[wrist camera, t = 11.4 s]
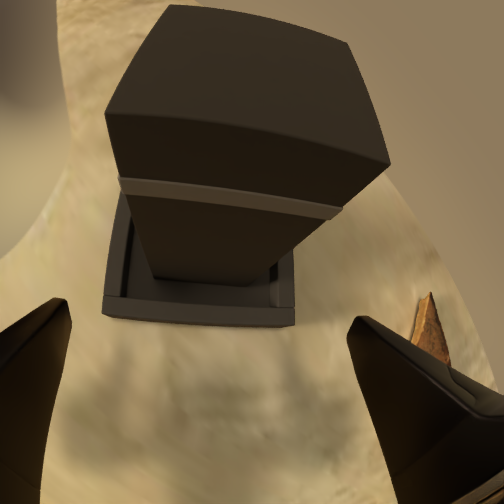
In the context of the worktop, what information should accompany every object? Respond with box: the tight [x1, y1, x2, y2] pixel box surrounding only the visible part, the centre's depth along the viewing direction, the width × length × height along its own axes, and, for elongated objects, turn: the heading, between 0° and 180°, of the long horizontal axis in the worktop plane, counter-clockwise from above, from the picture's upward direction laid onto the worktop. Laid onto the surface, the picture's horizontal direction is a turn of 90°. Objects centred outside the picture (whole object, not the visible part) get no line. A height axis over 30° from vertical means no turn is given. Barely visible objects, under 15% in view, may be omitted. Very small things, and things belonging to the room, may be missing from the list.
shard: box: [411, 292, 451, 367], centre depth 18 cm, size 11×8×2 cm
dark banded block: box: [104, 5, 391, 287], centre depth 11 cm, size 5×6×13 cm
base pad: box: [102, 191, 295, 328], centre depth 17 cm, size 10×10×2 cm
